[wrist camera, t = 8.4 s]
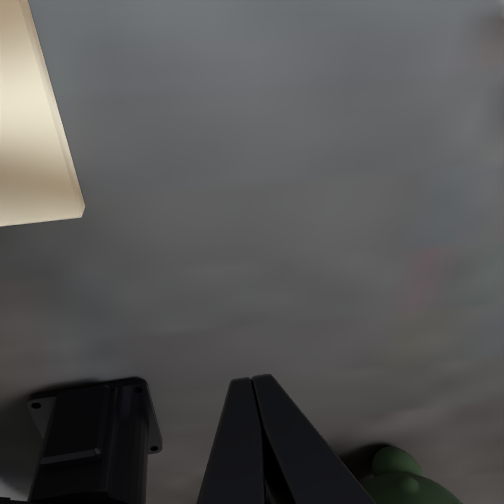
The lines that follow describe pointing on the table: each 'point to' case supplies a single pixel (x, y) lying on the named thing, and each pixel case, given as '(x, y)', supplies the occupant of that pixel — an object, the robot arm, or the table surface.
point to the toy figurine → (403, 481)
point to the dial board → (31, 130)
